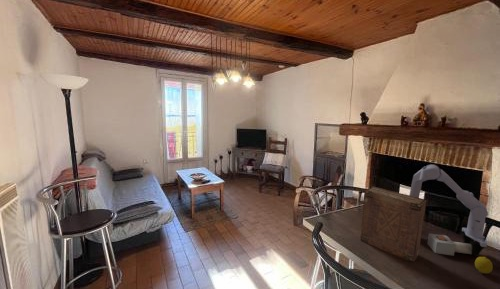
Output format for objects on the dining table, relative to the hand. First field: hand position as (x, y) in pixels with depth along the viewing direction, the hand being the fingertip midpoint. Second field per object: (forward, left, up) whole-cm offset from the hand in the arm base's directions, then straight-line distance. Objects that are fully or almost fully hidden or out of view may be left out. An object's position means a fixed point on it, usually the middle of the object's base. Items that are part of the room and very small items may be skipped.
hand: (471, 251), depth 113 cm
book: (-39, -5, -2) cm, 40 cm away
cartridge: (-5, 0, -1) cm, 5 cm away
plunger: (-13, 0, +4) cm, 14 cm away
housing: (-13, 0, -1) cm, 13 cm away
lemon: (-4, -15, -2) cm, 16 cm away
